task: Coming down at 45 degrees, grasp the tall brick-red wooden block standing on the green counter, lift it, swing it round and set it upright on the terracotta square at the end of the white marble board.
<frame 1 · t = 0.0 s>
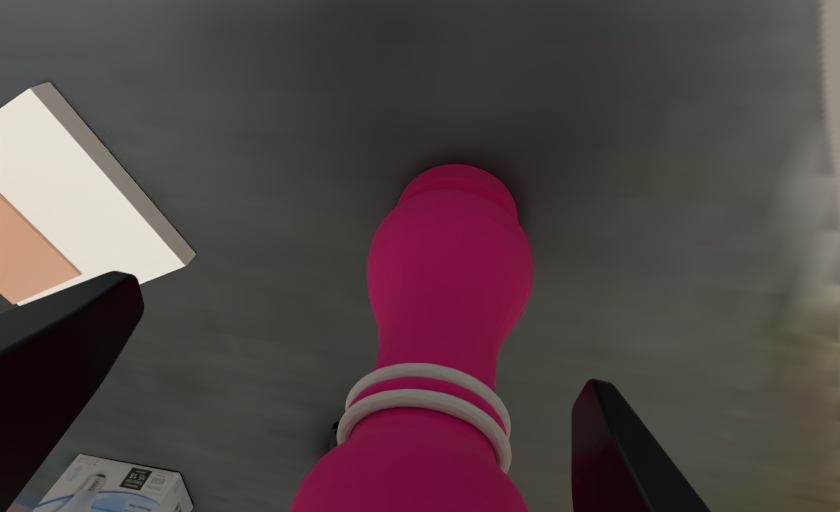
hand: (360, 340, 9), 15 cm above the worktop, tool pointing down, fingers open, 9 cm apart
board: (51, 217, 28), on the worktop
pepper mill: (456, 216, 24), on the worktop
light bulb box: (139, 478, 46), on the worktop
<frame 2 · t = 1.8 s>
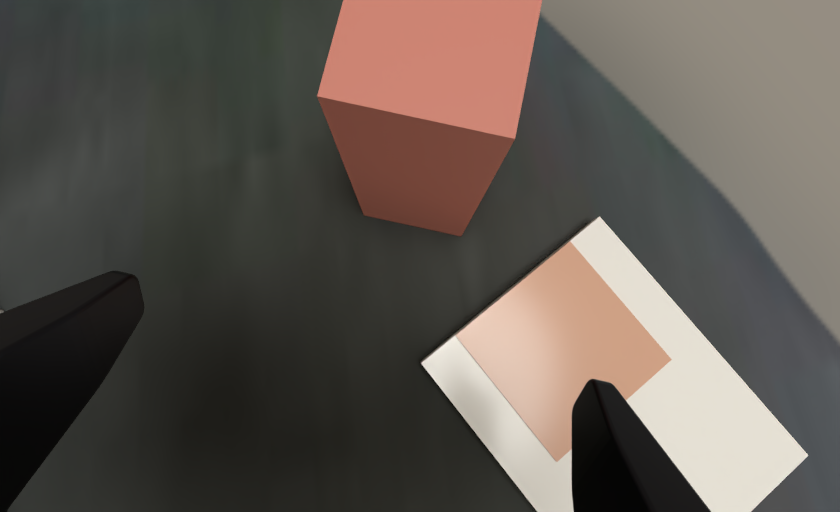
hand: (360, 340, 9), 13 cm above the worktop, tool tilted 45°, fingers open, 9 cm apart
board: (602, 404, 22), on the worktop
block: (423, 179, 24), on the worktop
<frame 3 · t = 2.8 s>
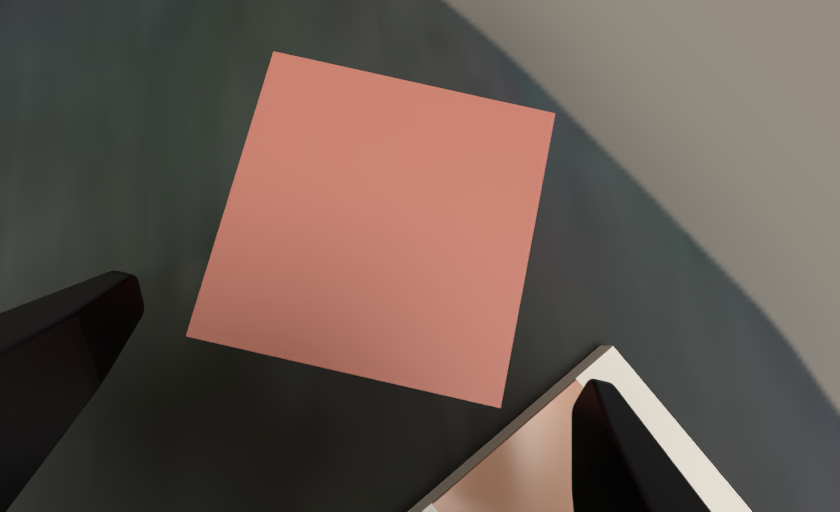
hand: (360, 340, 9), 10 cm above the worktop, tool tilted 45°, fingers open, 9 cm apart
block: (396, 290, 19), on the worktop
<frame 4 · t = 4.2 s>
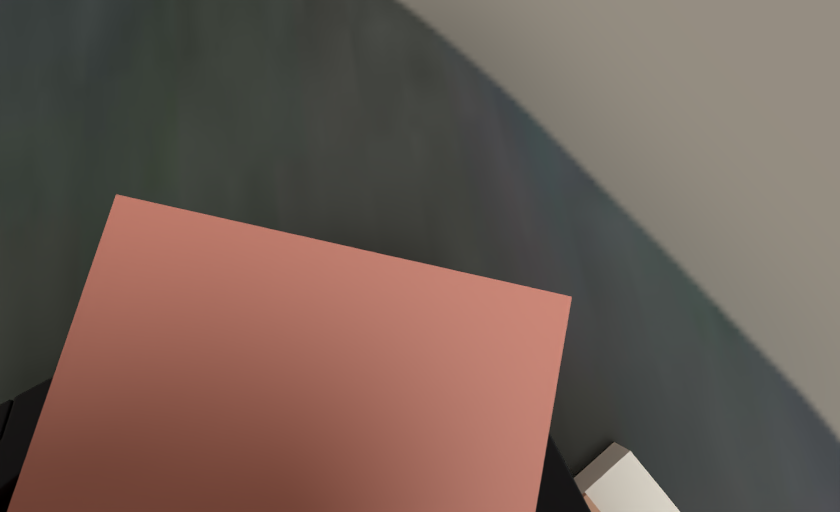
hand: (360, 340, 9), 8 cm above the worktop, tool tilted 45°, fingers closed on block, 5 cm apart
block: (372, 375, 16), on the worktop, touching gripper
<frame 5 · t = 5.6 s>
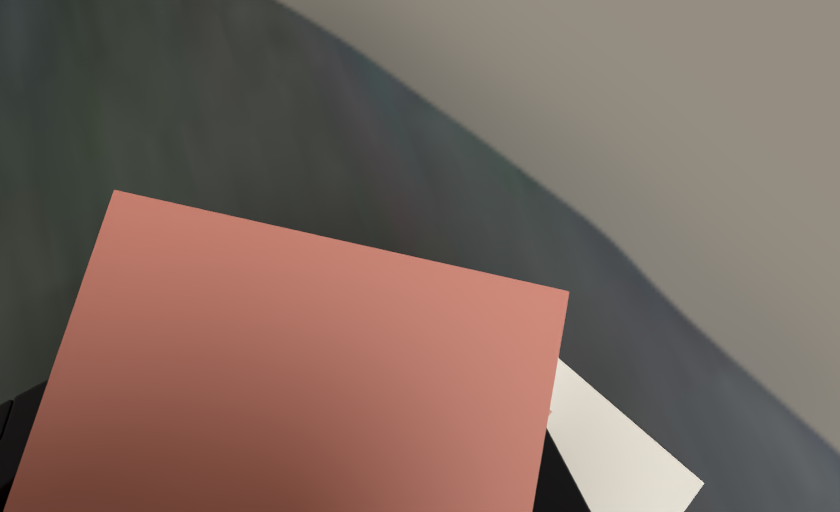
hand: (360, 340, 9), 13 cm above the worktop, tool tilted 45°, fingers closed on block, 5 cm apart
board: (495, 465, 21), on the worktop
block: (372, 374, 16), point 6 cm above the worktop, touching gripper
when the fingers open (10 cm above the worktop, at t = 6.9 s): block stays where it is, resting on board.
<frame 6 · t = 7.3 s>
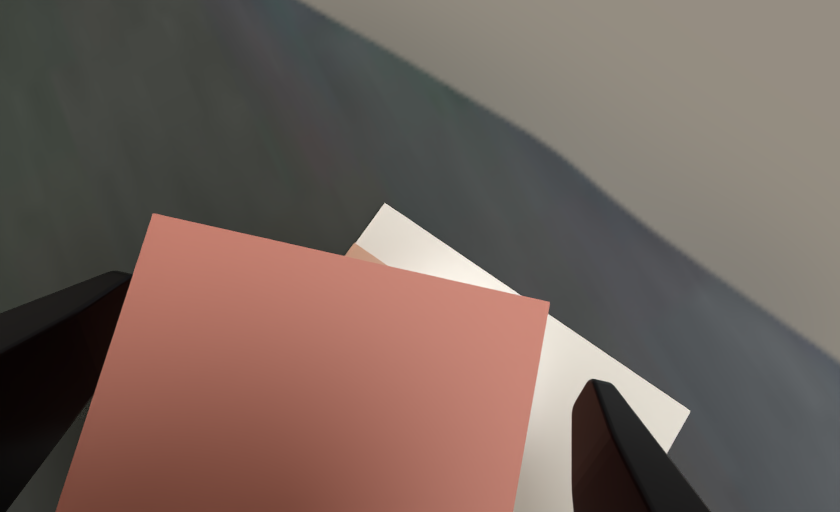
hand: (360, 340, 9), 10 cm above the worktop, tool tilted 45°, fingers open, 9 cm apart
board: (450, 421, 18), on the worktop
block: (374, 373, 17), point 1 cm above the worktop, touching board
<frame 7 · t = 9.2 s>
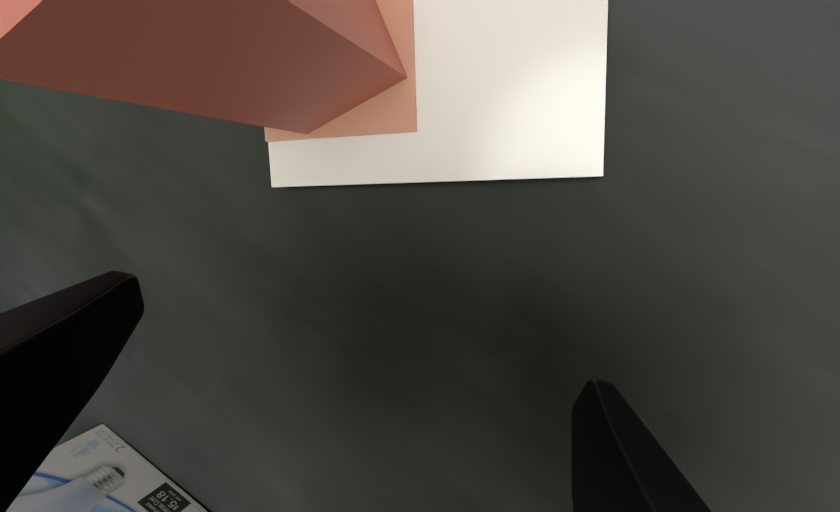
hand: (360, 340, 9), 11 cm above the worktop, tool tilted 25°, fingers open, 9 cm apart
board: (423, 47, 19), on the worktop
block: (331, 50, 19), point 1 cm above the worktop, touching board
light bulb box: (149, 506, 29), on the worktop
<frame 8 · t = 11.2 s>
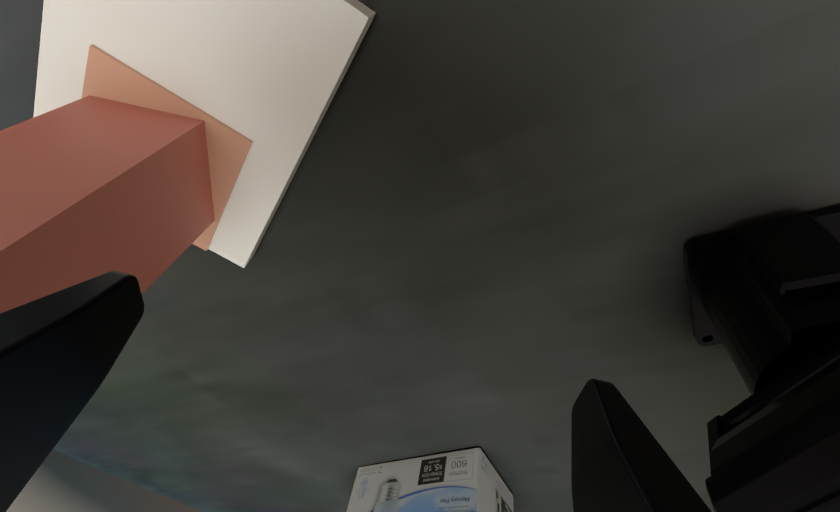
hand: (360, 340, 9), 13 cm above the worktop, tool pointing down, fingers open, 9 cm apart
board: (191, 86, 20), on the worktop
block: (156, 162, 21), point 1 cm above the worktop, touching board
light bulb box: (434, 478, 36), on the worktop
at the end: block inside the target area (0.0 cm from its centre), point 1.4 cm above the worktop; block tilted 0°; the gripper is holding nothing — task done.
